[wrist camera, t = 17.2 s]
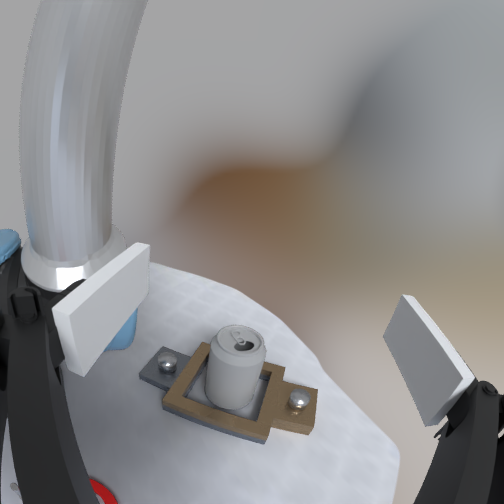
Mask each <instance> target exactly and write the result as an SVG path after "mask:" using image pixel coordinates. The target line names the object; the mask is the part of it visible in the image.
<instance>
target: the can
mask: <svg viewBox="0 0 504 504" xmlns="http://www.w3.org/2000/svg"><path fill="white" fill-rule="evenodd" d="M266 352H267V351H266V348H265V345H264V340H263V338H262V336H261V335H260V334H259V333H258V332H257V331H255V330H254V329H251V328H249V327H246V326H242V325H230V326H226V327H224V328H222V329H221V330H219V332H218V334H217V335H216V336H215V337H213V339H212V341H211V345H210V353H209V360H208V368H207V375H206V383H205V393H206V395H207V397H208V399H209V400H210V401H211V402H212V403H213V404H215V405H217V406H218V407H221V408H225V409H239V408H243V407H245V406H246V405H248V404H249V403H250V402H251V400H252V398H253V395H254V392H255V389H256V386H257V382H258V379H259V376H260V373H261V370H262V366H263V363H264V360H265V356H266Z"/></svg>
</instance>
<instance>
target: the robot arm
mask: <svg viewBox="0 0 504 504" xmlns="http://www.w3.org/2000/svg"><path fill="white" fill-rule="evenodd" d="M147 2H148V0H41V2H40V5H39V8H38V11H37V14H36V18H35V21H34V25H33V29H32V33H31V37H30V42H29V46H28V51H27V56H26V62H25V68H24V76H23V83H22V92H21V104H20V123H19V125H20V126H19V127H20V128H19V149H20V151H19V152H20V172H21V184H22V193H23V201H24V209H25V215H26V221H27V227H28V232H29V238H28V239H27V241H26V242H25V244H24V246H23V247H21V245H20V244H21V239H20V238H19V234H18V233H17V232H16V231H13V230H11V229H2V230H0V504H1V461H2V449H3V440H4V432H5V426H6V420H7V418H8V421H9V433H10V442H11V449H12V456H13V462H14V467H15V472H16V477H17V482H18V486H19V490H20V494H21V497H22V501H23V504H100V503H99V501H98V499H97V497H96V494H95V492H94V490H93V487H92V485H91V482H90V480H89V477H88V474H87V472H86V469H85V466H84V463H83V460H82V457H81V454H80V451H79V448H78V445H77V441H76V438H75V434H74V431H73V427H72V423H71V419H70V415H69V410H68V406H67V401H66V396H65V391H64V385H63V378H62V373H61V369H60V366H59V364H60V363H61V362H62V361H63V360H64V359H65V362H66V365H67V368H68V370H70V371H72V372H74V373H76V374H78V375H80V376H82V377H85V375H86V374H87V373H88V371H89V370H90V368H91V367H92V366H93V364H94V363H95V362H96V360H97V359H98V358H99V356H100V355H101V354H102V352H105V351H107V350H122V349H125V348H127V347H129V346H130V345H131V343H132V342H133V339H134V335H135V330H136V322H137V307H138V306H139V305H140V303H141V302H142V301H143V300H144V298H145V297H146V296H147V295H148V292H149V257H150V245H147V244H142V243H138V242H136V243H135V244H133V245H132V246H131V247H129V248H128V249H126V242H125V238H124V236H123V234H122V233H121V231H120V230H119V229H118V228H117V227H115V226H114V225H113V224H112V189H113V171H114V159H115V148H116V139H117V130H118V123H119V116H120V110H121V103H122V97H123V92H124V87H125V82H126V77H127V72H128V68H129V63H130V59H131V55H132V51H133V47H134V44H135V40H136V36H137V33H138V29H139V26H140V23H141V20H142V16H143V13H144V10H145V8H146V4H147ZM383 338H384V340H385V342H386V343H387V346H388V347H389V349H390V351H391V353H392V355H393V357H394V359H395V361H396V364H397V365H398V367H399V370H400V371H401V374H402V376H403V378H404V380H405V382H406V384H407V387H408V388H409V391H410V393H411V395H412V397H413V400H414V402H415V404H416V406H417V409H418V411H419V413H420V416H421V418H422V420H423V423H424V425H425V427H426V426H432V425H438V423H439V422H440V421H441V420H442V419H443V418H444V417H445V415H447V418H448V421H447V422H446V423H445V425H444V426H443V427H442V428H441V429H440V430H439V431H438V432H437V433H436V434H435V436H434V438H436V437H437V436H438V435H440V434H441V437H440V438H439V439H438V440H439V443H438V446H437V449H436V452H435V454H434V457H433V460H432V463H431V465H430V468H429V470H428V473H427V475H426V478H425V480H424V482H423V485H422V487H421V489H420V491H419V493H418V495H417V497H416V499H415V502H414V504H504V434H503V435H502V436H501V437H500V438H498V434H499V433H500V432H501V431H502V429H503V428H504V395H500V394H498V391H497V390H496V388H495V387H494V386H493V385H492V384H490V383H489V382H487V381H480V382H478V380H477V379H476V377H475V376H474V374H473V373H472V371H471V370H470V369H469V367H468V366H467V364H465V361H464V360H463V359H462V358H461V356H460V355H459V353H458V352H457V351H456V350H455V349H454V347H453V346H452V345H451V343H450V342H449V340H448V339H447V338H446V337H445V335H444V334H443V333H442V331H441V330H440V329H439V328H438V326H437V325H436V324H435V323H434V321H433V320H432V319H431V318H430V317H429V315H428V314H427V313H426V312H425V310H424V309H423V308H422V307H421V305H420V304H419V303H418V302H417V301H416V299H415V298H414V297H413V296H408V295H402V296H401V298H400V300H399V303H398V305H397V307H396V310H395V312H394V314H393V316H392V318H391V320H390V323H389V325H388V327H387V329H386V331H385V333H384V335H383Z"/></svg>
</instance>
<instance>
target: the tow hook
mask: <svg viewBox="0 0 504 504" xmlns="http://www.w3.org/2000/svg"><path fill="white" fill-rule="evenodd" d="M89 480H90V482H91V485H92V487H93V490H94V492H95V493H97V494H98V495H99V496H100V497H101V498H102V499H103V501H104V503H105V504H118V503H117V501H116V499H115V497H114V496H113V495H112V494H111V492H110V491H109V490H108V489H107V488H105V487H104V486H103V485H102V484H100V483H98V482H96V481H95V480H92V479H89ZM10 487H11V489H12V490H13V491H15V492H16V493H17V494H18V495H19V496H20V498H21V499H22V497H21V494H20V490H19V486H18V485H17V484H15V483H11V485H10Z"/></svg>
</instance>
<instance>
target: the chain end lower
mask: <svg viewBox="0 0 504 504" xmlns="http://www.w3.org/2000/svg"><path fill="white" fill-rule="evenodd" d="M191 358H192V357H189V356H186V355H184V354H181V353H179V352H176V351H174V350H171V349H169V348H166V347H164V346H163V347H162V348H161V349H160V350H159V351H158V352H157V354H156V355H155V356H154V357H153V358H152V359H151V361H150V362H149V363H148V364H147V365H146V366H145V368H144V369H143V370H142V371H141V372H140V373H139V377H140V379H142V380H144V381H146V382H148V383H150V384H152V385H154V386H156V387H159V388H161V389H163V390H165V391H169V389H170V388H171V387H172V385H173V384H174V382H175V381H176V379H177V378H178V376H179V375H180V374H181V372H182V371H183V369H184V368H185V366H186V365H187V363H188V362H189V361H190V359H191ZM208 360H209V357H208V358H207V360H206V362H205V363H204V365H203V366H202V368H201V370H200V371H199V373H198V375H197V376H196V378H195V379H194V381H193V383H192V384H191V386H190V388H189V389H188V391H187V392H186V394H185V396H184V397H185V398H186V397H187V395H188V393H189V392H190V390H191V389H192V387H193V385H194V384H195V382H196V380H197V379H198V377H199V375H200V374H201V372H202V370H203V369H204V367H205V365H206V364H207V362H208ZM259 379H263V380H266V381H269V380H270V376H266V375H263V374H260V376H259ZM268 383H269V382H268ZM266 390H267V389H266ZM265 393H266V392H265ZM263 400H264V399H263ZM262 403H263V402H262ZM261 406H262V405H261ZM163 409H164V410H166V411H168V412H171V413H173V414H175V415H178V416H180V417H182V418H185V419H187V420H190V421H192V422H195V423H198V424H200V425H203V426H206V427H208V428H211V429H214V430H217V431H220V432H223V433H226V434H229V435H232V436H235V437H239V438H242V439H246V440H249V441H253V442H256V443H260V444H265V442H266V441H265V440H262V439H258V438H254V437H251V436H247V435H244V434H240V433H237V432H234V431H231V430H227V429H224V428H221V427H218V426H215V425H213V424H210V423H207V422H204V421H202V420H199V419H196V418H194V417H191V416H189V415H186V414H184V413H181V412H179V411H176V410H174V409H172V408H169V407H167V406H165V405H163ZM259 413H260V412H259ZM258 416H259V415H258ZM257 419H258V418H257ZM256 422H257V421H256Z"/></svg>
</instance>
